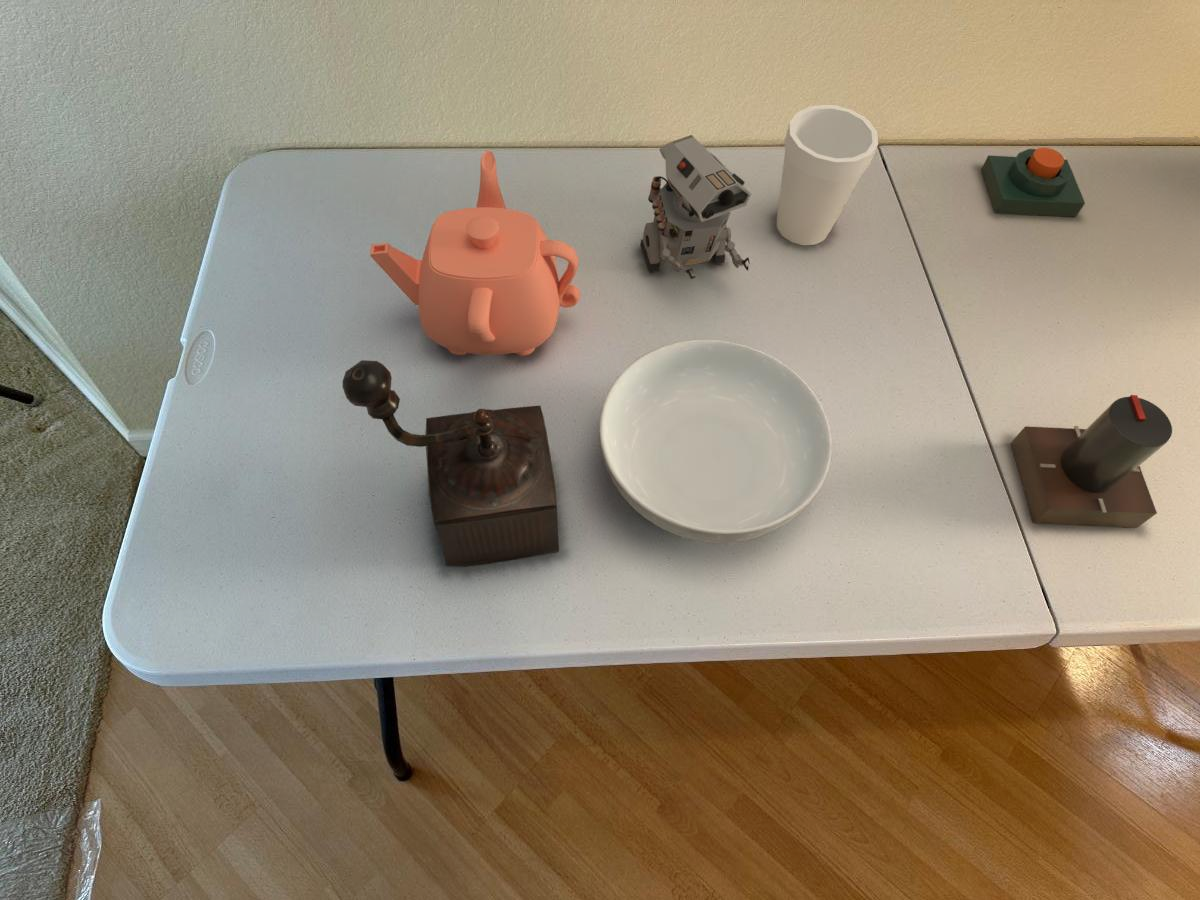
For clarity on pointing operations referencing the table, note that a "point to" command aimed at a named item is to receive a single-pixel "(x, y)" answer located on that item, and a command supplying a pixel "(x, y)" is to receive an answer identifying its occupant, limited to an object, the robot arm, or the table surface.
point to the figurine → (692, 209)
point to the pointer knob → (1116, 443)
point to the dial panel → (1074, 485)
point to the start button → (1045, 162)
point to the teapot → (485, 276)
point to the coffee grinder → (476, 473)
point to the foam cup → (821, 169)
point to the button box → (1030, 188)
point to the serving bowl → (714, 440)
